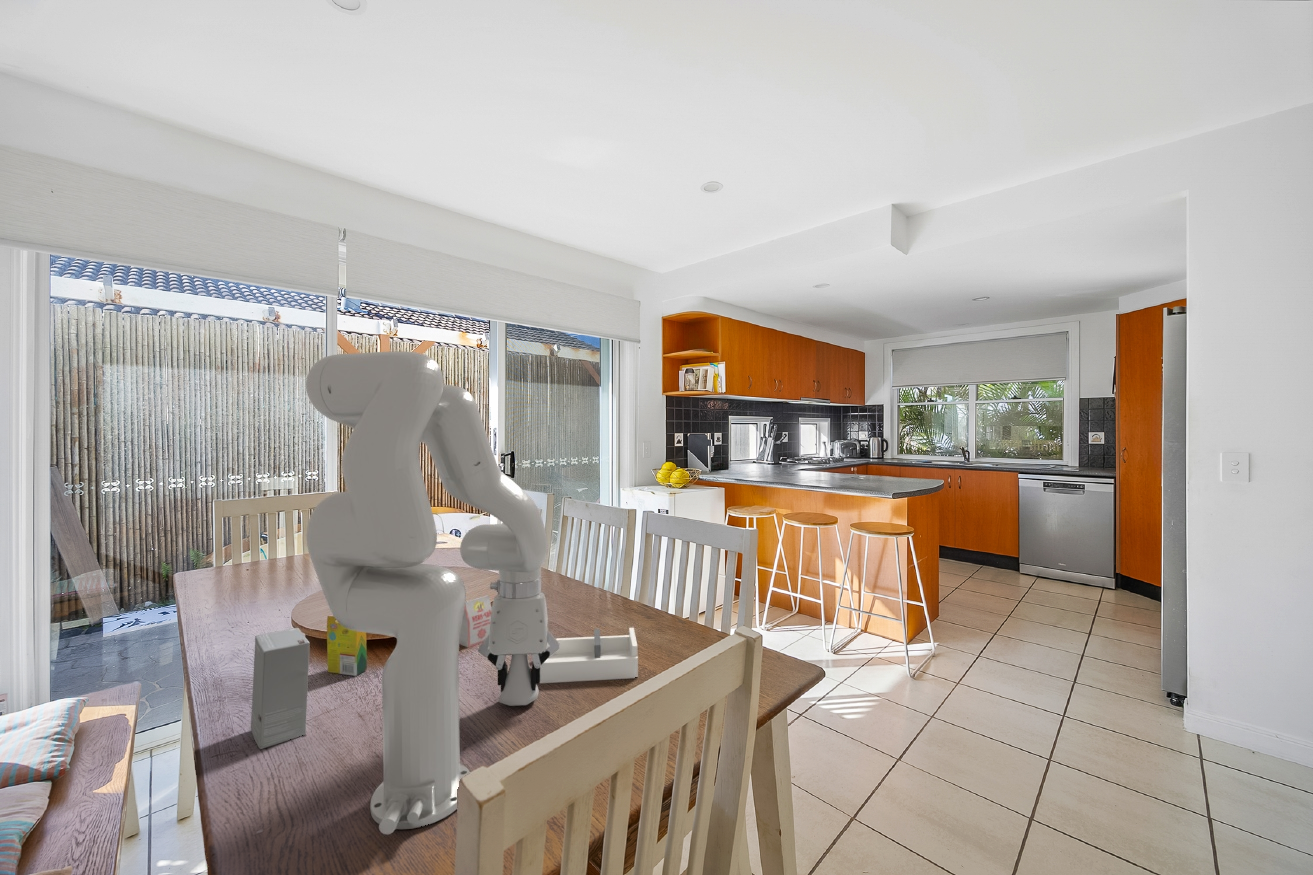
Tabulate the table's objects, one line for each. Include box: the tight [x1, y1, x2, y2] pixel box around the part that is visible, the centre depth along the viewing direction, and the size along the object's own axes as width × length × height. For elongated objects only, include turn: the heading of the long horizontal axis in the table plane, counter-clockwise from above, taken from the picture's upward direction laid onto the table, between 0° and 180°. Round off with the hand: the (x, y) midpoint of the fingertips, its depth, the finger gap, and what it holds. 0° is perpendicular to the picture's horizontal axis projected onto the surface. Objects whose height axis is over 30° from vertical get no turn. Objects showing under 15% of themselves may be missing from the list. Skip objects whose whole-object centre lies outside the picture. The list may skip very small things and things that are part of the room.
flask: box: [498, 654, 540, 707], centre depth 99 cm, size 7×7×10 cm
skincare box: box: [250, 627, 311, 750], centre depth 89 cm, size 8×7×16 cm
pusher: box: [593, 628, 601, 658], centre depth 113 cm, size 9×1×5 cm, turn 7°
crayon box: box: [326, 615, 368, 677], centre depth 111 cm, size 7×3×12 cm, turn 74°
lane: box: [540, 627, 639, 684], centre depth 113 cm, size 12×20×6 cm, turn 97°
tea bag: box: [459, 594, 492, 649], centre depth 127 cm, size 4×7×10 cm, turn 143°
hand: (519, 686), depth 99 cm, fingers closed on flask, 4 cm apart
